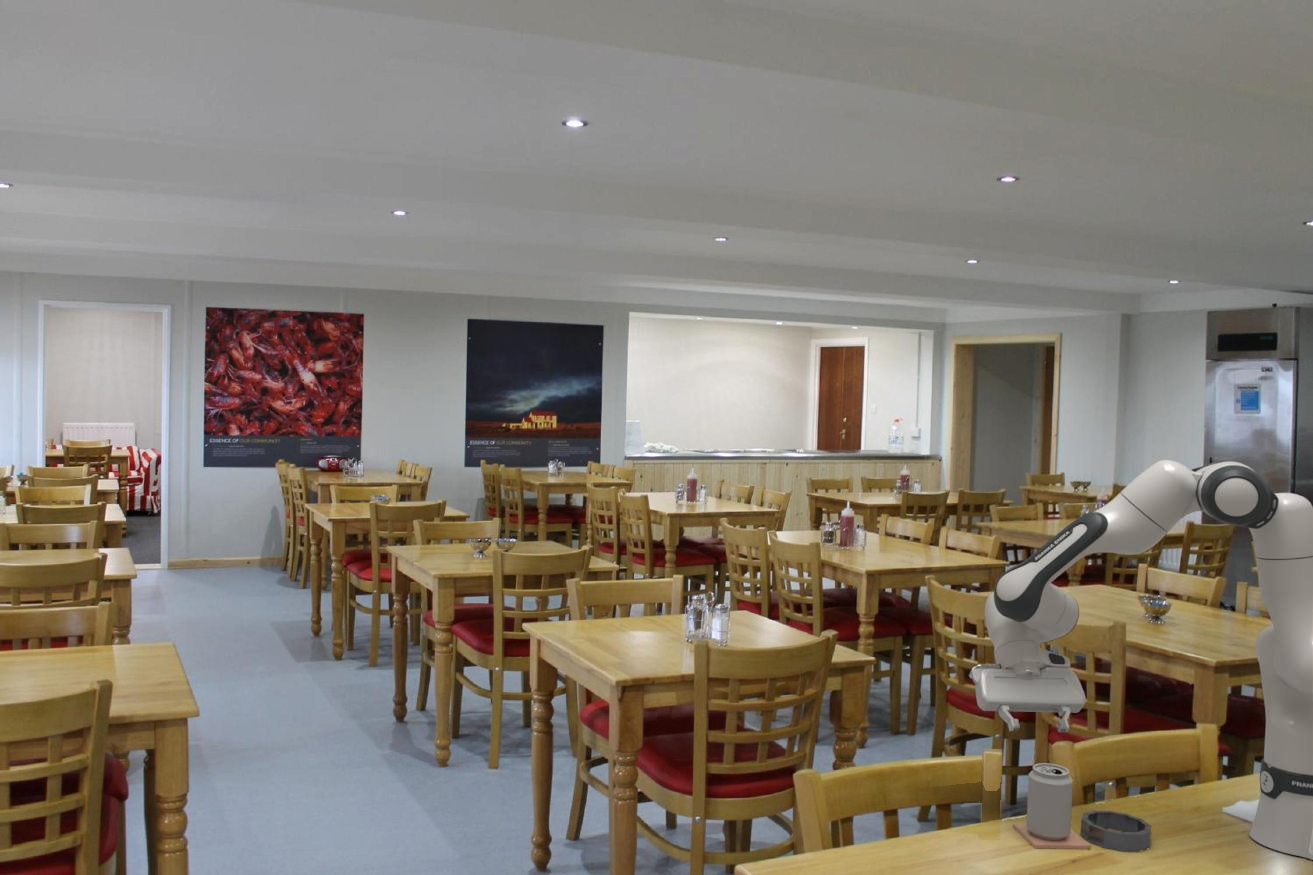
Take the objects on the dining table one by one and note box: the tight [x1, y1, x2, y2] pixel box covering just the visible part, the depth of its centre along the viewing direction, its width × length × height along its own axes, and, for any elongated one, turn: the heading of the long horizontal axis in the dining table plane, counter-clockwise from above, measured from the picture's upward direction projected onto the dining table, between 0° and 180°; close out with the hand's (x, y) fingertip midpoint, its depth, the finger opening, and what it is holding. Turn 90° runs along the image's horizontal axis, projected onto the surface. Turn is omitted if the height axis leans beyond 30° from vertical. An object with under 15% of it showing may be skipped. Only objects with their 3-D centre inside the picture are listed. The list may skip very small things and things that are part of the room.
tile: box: [1012, 822, 1092, 850], centre depth 202 cm, size 10×10×1 cm
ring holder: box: [1080, 810, 1152, 852], centre depth 203 cm, size 12×12×3 cm
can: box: [1026, 762, 1074, 840], centre depth 202 cm, size 8×8×12 cm
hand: (1039, 730), depth 209 cm, fingers open, 8 cm apart
